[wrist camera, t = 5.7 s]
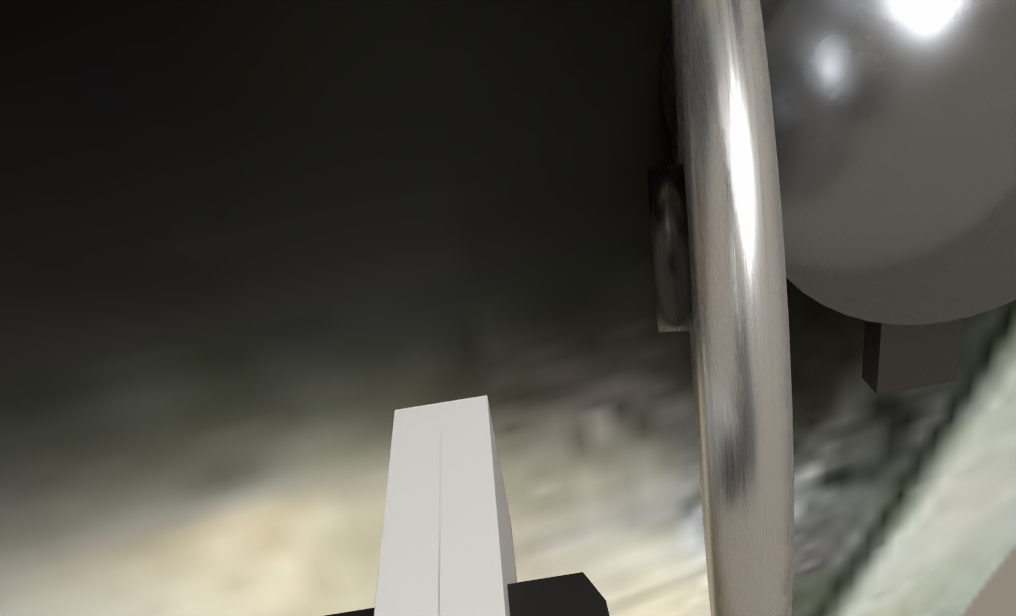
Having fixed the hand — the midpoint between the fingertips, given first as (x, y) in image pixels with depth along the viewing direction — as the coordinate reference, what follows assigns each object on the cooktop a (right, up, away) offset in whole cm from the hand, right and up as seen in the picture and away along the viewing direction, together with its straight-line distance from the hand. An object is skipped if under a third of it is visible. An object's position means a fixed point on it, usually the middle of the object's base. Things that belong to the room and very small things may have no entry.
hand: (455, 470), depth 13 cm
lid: (+6, +3, +4) cm, 8 cm away
